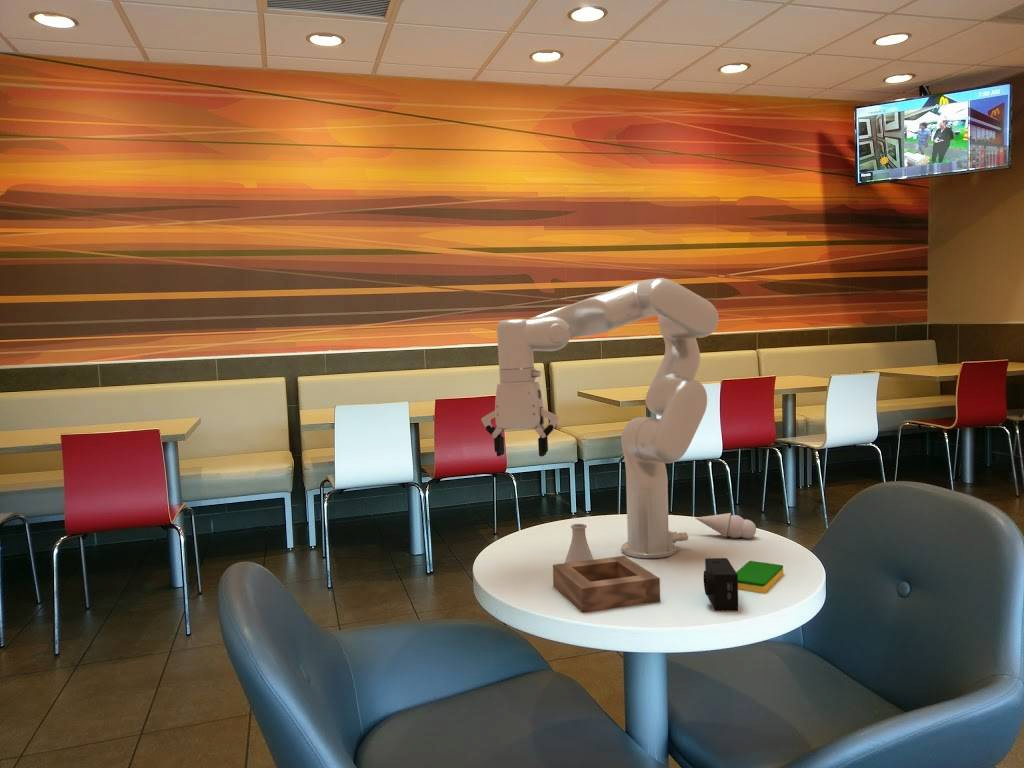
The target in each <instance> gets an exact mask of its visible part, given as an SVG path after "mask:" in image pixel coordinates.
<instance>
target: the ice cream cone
mask: <svg viewBox="0 0 1024 768" xmlns="http://www.w3.org/2000/svg"><path fill="white" fill-rule="evenodd" d="M694 519H695V520H697V521H699V522H701V523H702V524H703V525H705V526H707V527H708V528H711V529H712V530H713V531H715V532H717V533H718V534H719V535H720V534H721V536H724V537H725V538H728V536H729V537H730V538H733V539H738V538H743V539H751V538H753V537H755V535H756V533H757V526H756V524H755V522H753V521H752V520H750V519H744V518H743V517H741V516H740V515H736V514H734V515H733V514H732V513H731V512H727V513H721V514H714V515H707V516H705V515H704V516H699V517H698V516H697V517H694Z"/></svg>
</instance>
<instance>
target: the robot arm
mask: <svg viewBox="0 0 1024 768" xmlns="http://www.w3.org/2000/svg"><path fill="white" fill-rule="evenodd" d="M650 317H658V318H657V319H658V320H657V322H658V328H659V331H660V333H661V336H662V338H663V342H664V348H665V350H664V355H663V358H662V360H661V363H660V365H659V367H658V369H657V372H656V373H655V376H654V377H653V379H652V381H651V383H650V386H649V388H648V390H647V392H646V396H645V405H646V407H647V410H649V412H651V413H653V414H654V415H657V416H659V417H660V418H655V417H649V416H639V417H634V418H632V419H630V420H629V421H628V422H627V423H626V424H625V425H624V427H623V429H622V432H621V438H620V439H621V448H622V453H623V454H622V455H623V459H624V465H625V477H626V478H625V479H626V480H625V481H626V484H625V487H626V521H627V523H626V525H627V526H626V527H627V542H624V543H623V544H621V546H620V547H621V549H620V551H621V553H623V554H624V555H626V556H629V557H632V558H641V559H659V558H661V559H662V558H666V557H667V558H668V557H670V556H672V555H674V554H675V553H676V552H677V548H676V545H675V544H676V543H677V542H684V541H685V542H686V541H688V539H689V535H688V533H687V532H685V531H684V532H679V533H678V532H677V531H670V530H669V528H670V527H669V494H668V493H669V492H668V491H669V490H668V489H669V487H668V486H669V485H668V484H669V481H668V473H667V472H668V471H667V467H666V464H672V463H673V464H674V463H675V462H678V461H679V460H680V459H682V457H684V455H685V454H686V452H687V451H688V449H689V447H690V446H691V443H692V441H693V439H694V436H695V434H696V432H697V431H698V429H699V427H700V424H701V422H702V420H703V417H704V415H705V413H706V410H707V405H708V395H707V390H706V387H704V385H703V384H702V383H701V382H700V381H699V380H697V379H695V378H696V375H697V372H698V370H699V367H700V363H701V353H700V348H699V344H698V341H697V339H701V338H707V337H708V336H710V335H712V334H713V333H714V332H715V331H716V329H717V328H718V325H719V321H720V318H719V317H720V316H719V312H718V311H717V308H716V307H715V306H714V305H713V303H712V302H710V301H709V300H708V299H706V298H704V297H702V296H700V295H699V294H697V293H695V292H693V291H692V290H690V289H688V288H687V287H685V286H683V285H681V284H679V283H677V282H676V281H673V280H671V279H669V278H665V277H657V278H650V279H643V280H638V281H635V282H633V283H630V284H626V285H623V286H621V287H618V288H615V289H612V290H609V291H607V292H603V293H600V294H597V295H594V296H591V297H588V298H586V299H583V300H580V301H577V302H575V303H571V304H569V305H565V306H562V307H559V308H555V309H553V310H550V311H547V312H544V313H541V314H538V315H535V316H533V317H530V318H528V319H526V318H516V319H515V318H514V319H513V318H511V319H503V320H501V321H499V322H498V323H497V325H496V336H497V351H498V356H497V357H498V367H499V368H498V372H499V383H497V385H496V391H495V392H496V393H495V403H494V404H495V405H494V410H493V411H490V412H489V413H488V414H486V415H484V416H483V417H481V419H480V420H481V422H482V424H483V426H484V427H485V430H486V431H487V433H489V434H490V435H491V437H492V438H493V443H494V452H495V453H496V457H501V456H503V455H504V454H505V438H504V436H503V433H504V431H505V430H506V431H507V430H509V431H511V430H514V431H515V430H534V431H535V432H536V433H537V435H538V436H539V438H538V439H537V443H538V444H537V446H538V456H539V457H544V456H546V455H547V452H549V443H548V442H549V439H548V436H549V435H550V434H551V433H552V432H553V430H555V428H556V425H557V423H558V422H559V415H557V414H555V413H553V412H550V411H549V410H547V409H545V408H544V401H543V395H542V390H541V385H540V382H539V381H536V380H537V378H539V377H541V376H542V374H541V370H537V369H536V367H535V361H534V360H535V358H534V352H555V351H559V350H561V349H563V348H565V347H566V346H567V344H569V342H570V340H571V339H575V338H578V337H585V336H595V335H599V334H604V333H608V332H611V331H613V330H616V329H619V328H622V327H624V326H626V325H629V324H632V323H635V322H638V321H641V320H643V319H647V318H650ZM494 418H495V419H494ZM492 419H494V420H495V426H496V427H495V426H494V425H493V424H492V422H491V420H492ZM545 419H548V420H549V422H548V423H549V424H547V426H546V427H545V426H544V425H545V423H546V422H545Z"/></svg>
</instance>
